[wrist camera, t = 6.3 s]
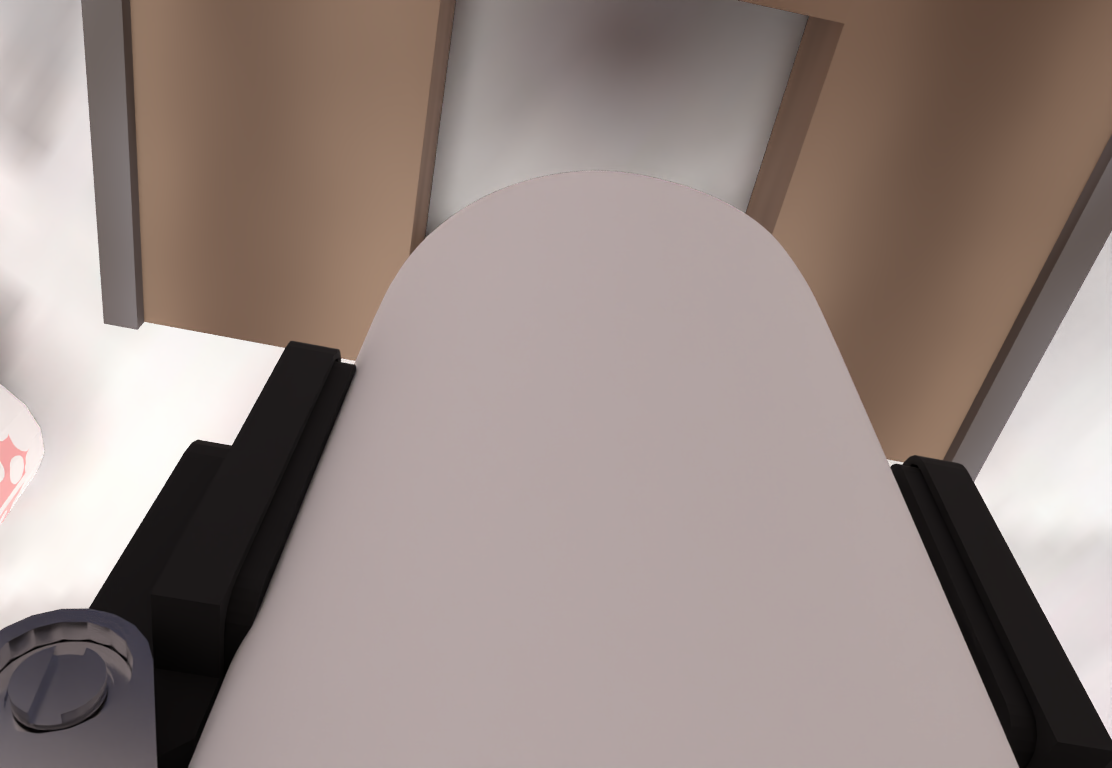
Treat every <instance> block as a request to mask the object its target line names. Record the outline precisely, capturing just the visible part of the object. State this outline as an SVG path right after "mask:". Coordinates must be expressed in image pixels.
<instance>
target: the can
mask: <svg viewBox="0 0 1112 768" xmlns="http://www.w3.org/2000/svg"><path fill="white" fill-rule="evenodd" d="M354 365H356V372H355V374H354V377H353V379H352V382H351V384H350V387H349V389H348V392H347V394H346V396H345V399H344V401H343V404H342V406H341V409H340V411H339V414H338V416H337V419H336V421H335V423H334V426H333V428H332V431H331V433H330V436H329V438H328V441H327V443H326V446H325V448H324V451H323V453H322V455H321V458H320V460H319V463H318V465H317V468H316V470H315V473H314V475H313V478H312V480H311V482H310V485H309V487H308V490H307V492H306V495H305V497H304V500H303V502H302V505H301V507H300V510H299V512H298V514H297V517H296V519H295V522H294V524H293V527H292V529H291V532H290V534H289V537H288V539H287V542H286V544H285V547H284V549H283V552H282V554H281V556H280V559H279V561H278V564H277V566H276V569H275V571H274V574H273V576H272V579H271V581H270V584H269V586H268V589H267V591H266V594H265V596H264V599H263V601H262V603H261V606H260V608H259V611H258V613H257V616H256V618H255V621H254V623H253V626H252V627H251V629H250V630H249V632H248V633H247V635H246V636H245V638H244V639H243V641H242V643H241V645H240V646H239V648H238V650H237V651H236V653H235V655H234V657H233V659H232V661H231V664H230V666H229V668H228V671H227V673H226V676H225V678H224V681H223V683H222V685H221V688H220V690H219V693H218V695H217V698H216V700H215V703H214V705H213V707H212V710H211V712H210V715H209V717H208V720H207V722H206V725H205V727H204V730H203V732H202V734H201V737H200V739H199V742H198V744H197V747H196V749H195V752H194V754H193V757H192V759H191V761H190V764H189V766H188V768H1019V766H1018V764H1017V761H1016V759H1015V757H1014V754H1013V752H1012V750H1011V747H1010V745H1009V743H1008V740H1007V738H1006V735H1005V733H1004V731H1003V728H1002V726H1001V724H1000V721H999V719H998V717H997V714H996V712H995V710H994V707H993V705H992V703H991V700H990V698H989V696H988V693H987V691H986V689H985V686H984V684H983V682H982V679H981V677H980V675H979V672H978V670H977V668H976V665H975V663H974V661H973V658H972V656H971V654H970V652H969V649H968V647H967V645H966V642H965V640H964V638H963V635H962V633H961V631H960V628H959V626H958V624H957V621H956V619H955V617H954V614H953V612H952V610H951V607H950V605H949V603H948V600H947V598H946V596H945V593H944V591H943V589H942V586H941V584H940V582H939V579H938V577H937V575H936V572H935V570H934V568H933V565H932V563H931V561H930V558H929V556H928V554H927V551H926V549H925V547H924V544H923V542H922V540H921V537H920V535H919V533H918V531H917V528H916V526H915V524H914V521H913V519H912V517H911V514H910V512H909V510H908V507H907V505H906V503H905V500H904V498H903V496H902V494H901V491H900V489H899V487H898V484H897V482H896V480H895V477H894V475H893V473H892V470H891V468H890V466H889V463H888V461H887V459H886V457H885V454H884V452H883V450H882V447H881V445H880V443H879V440H878V438H877V436H876V433H875V431H874V429H873V427H872V424H871V422H870V420H869V417H868V415H867V413H866V410H865V408H864V406H863V404H862V401H861V399H860V397H859V394H858V392H857V390H856V388H855V385H854V383H853V381H852V378H851V376H850V374H849V372H848V369H847V367H846V365H845V362H844V360H843V358H842V356H841V353H840V351H839V349H838V347H837V345H836V342H835V340H834V338H833V336H832V333H831V331H830V329H829V327H828V325H827V322H826V320H825V318H824V316H823V314H822V311H821V309H820V307H819V305H818V303H817V301H816V299H815V297H814V295H813V293H812V291H811V289H810V287H809V286H808V284H807V282H806V280H805V279H804V277H803V275H802V274H801V272H800V271H799V269H798V268H797V266H796V265H795V263H794V262H793V260H792V259H791V257H790V256H789V255H788V253H787V252H786V251H785V249H784V248H783V247H782V246H781V244H780V243H779V242H778V241H777V240H776V239H775V238H774V237H773V236H772V234H771V233H770V232H768V231H767V230H766V229H765V228H764V227H763V226H762V225H760V224H759V223H758V222H757V221H755V220H754V219H752V218H751V217H750V216H748V215H747V214H745V213H744V212H742V211H740V210H738V209H737V208H735V207H733V206H731V205H730V204H728V203H726V202H724V201H722V200H720V199H718V198H715V197H713V196H711V195H708V194H706V193H704V192H701V191H698V190H696V189H693V188H690V187H687V186H684V185H681V184H677V183H674V182H670V181H666V180H663V179H658V178H654V177H650V176H645V175H639V174H634V173H626V172H618V171H599V170H591V171H575V172H565V173H558V174H552V175H547V176H542V177H538V178H534V179H530V180H526V181H523V182H520V183H517V184H514V185H511V186H508V187H505V188H503V189H500V190H498V191H495V192H493V193H491V194H489V195H487V196H485V197H483V198H481V199H479V200H477V201H475V202H473V203H472V204H470V205H468V206H466V207H465V208H463V209H462V210H460V211H459V212H457V213H456V214H454V215H453V216H451V217H450V218H449V219H447V220H446V221H445V222H443V223H442V224H441V225H440V226H438V227H437V228H436V229H435V230H434V231H433V232H432V233H431V234H429V235H428V236H427V237H426V238H425V239H424V240H423V241H422V242H421V243H420V244H419V246H418V247H417V248H416V249H415V250H414V251H413V252H412V254H411V255H410V256H409V257H408V259H407V260H406V261H405V263H404V264H403V266H402V267H401V268H400V270H399V272H398V273H397V275H396V276H395V278H394V280H393V281H392V283H391V284H390V286H389V288H388V290H387V292H386V294H385V296H384V298H383V300H382V302H381V304H380V306H379V309H378V311H377V313H376V315H375V317H374V319H373V322H372V324H371V326H370V329H369V331H368V333H367V335H366V338H365V340H364V342H363V345H362V347H361V349H360V352H359V354H358V356H357V359H356V361H355V364H354Z"/></svg>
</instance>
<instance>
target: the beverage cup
mask: <svg viewBox="0 0 1112 768" xmlns="http://www.w3.org/2000/svg"><path fill="white" fill-rule="evenodd" d="M44 453H45V451H44V445H43V439H42V433H41V428H40V427H39V425H38V424H37V422H36V421H35V419H34V417H33V416H32V414H31V413H30V411H29V410H28V408H27V406H26V405H25V404H24V403H23V402H21V401H20V400H19V399H18V398H17V397H15V396H14V395H13V394H12V393H11V392H10V391H8V390H7V389H6V388H5V387H4V386H2V385H1V384H0V525H1V524H2V522H3V521H4V519H5V518H6V516H7V515H8V513H9V512H10V510H11V509H12V508H13V506H14V505H15V503H16V502H17V500H18V499H19V497H20V496H21V495H22V493H23V492H24V490H25V489H26V487H27V486H28V484H29V483H30V481H31V480H32V479H33V477H34V476H35V474H36V473H37V471H38V468H39V466H40V463H41V461H42V458H43V456H44Z"/></svg>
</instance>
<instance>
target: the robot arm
mask: <svg viewBox="0 0 1112 768" xmlns="http://www.w3.org/2000/svg"><path fill="white" fill-rule="evenodd" d="M355 372H356V365H353V364H347V363H342V362H341V352H340V350H339V349H335V348H330V347H324V346H319V345H313V344H308V343H303V342H297V341H290V342H289V343H288V345H287V346H286V348H285V350H284V352H283V353H282V355H281V357H280V359H279V361H278V362H277V364H276V366H275V368H274V370H273V372H272V373H271V375H270V377H269V379H268V381H267V383H266V384H265V386H264V388H263V390H262V392H261V393H260V395H259V397H258V399H257V401H256V403H255V404H254V406H253V408H252V410H251V412H250V414H249V415H248V417H247V419H246V421H245V423H244V424H243V426H242V428H241V430H240V432H239V434H238V435H237V437H236V439H235V441H234V443H233V445H232V446H231V445H225V444H219V443H213V442H208V441H202V440H196V441H194V442H192V443H191V445H190V446H189V447H188V448H187V450H186V451H185V452H184V454H183V456H182V457H181V459H180V461H179V462H178V464H177V466H176V467H175V469H174V470H173V472H172V474H171V475H170V477H169V479H168V480H167V482H166V483H165V485H164V487H163V488H162V490H161V492H160V493H159V495H158V496H157V498H156V500H155V501H154V503H153V505H152V506H151V508H150V510H149V511H148V513H147V514H146V516H145V518H144V519H143V521H142V523H141V524H140V526H139V527H138V529H137V531H136V532H135V534H134V536H133V537H132V539H131V541H130V542H129V544H128V545H127V547H126V549H125V550H124V552H123V554H122V555H121V557H120V558H119V560H118V562H117V563H116V565H115V567H114V568H113V570H112V571H111V573H110V575H109V576H108V578H107V580H106V581H105V583H104V585H103V586H102V588H101V589H100V591H99V593H98V594H97V596H96V598H95V599H94V601H93V602H92V604H91V606H90V607H89V609H59V610H54V611H50V612H45V613H41V614H36V615H32V616H30V617H27V618H25V619H23V620H21V621H18V622H16V623H14V624H12V625H9V626H7V627H5V628H3V629H2V630H1V631H0V768H188V766H189V764H190V761H191V759H192V757H193V754H194V752H195V749H196V747H197V744H198V742H199V739H200V737H201V734H202V732H203V730H204V727H205V725H206V722H207V720H208V717H209V715H210V712H211V710H212V707H213V705H214V703H215V700H216V698H217V695H218V693H219V690H220V688H221V685H222V683H223V681H224V678H225V676H226V673H227V671H228V668H229V666H230V664H231V661H232V659H233V657H234V655H235V653H236V651H237V650H238V648H239V646H240V645H241V643H242V641H243V639H244V638H245V636H246V635H247V633H248V632H249V630H250V629H251V627H252V626H253V623H254V621H255V618H256V616H257V613H258V611H259V608H260V606H261V603H262V601H263V599H264V596H265V594H266V591H267V589H268V586H269V584H270V581H271V579H272V576H273V574H274V571H275V569H276V566H277V564H278V561H279V559H280V556H281V554H282V552H283V549H284V547H285V544H286V542H287V539H288V537H289V534H290V532H291V529H292V527H293V524H294V522H295V519H296V517H297V514H298V512H299V510H300V507H301V505H302V502H303V500H304V497H305V495H306V492H307V490H308V487H309V485H310V482H311V480H312V478H313V475H314V473H315V470H316V468H317V465H318V463H319V460H320V458H321V455H322V453H323V451H324V448H325V446H326V443H327V441H328V438H329V436H330V433H331V431H332V428H333V426H334V423H335V421H336V419H337V416H338V414H339V411H340V409H341V406H342V404H343V401H344V399H345V396H346V394H347V392H348V389H349V387H350V384H351V382H352V379H353V377H354V374H355ZM890 468H891V470H892V473H893V475H894V477H895V480H896V482H897V484H898V487H899V489H900V491H901V494H902V496H903V498H904V500H905V503H906V505H907V507H908V510H909V512H910V514H911V517H912V519H913V521H914V524H915V526H916V528H917V531H918V533H919V535H920V537H921V540H922V542H923V544H924V547H925V549H926V551H927V554H928V556H929V558H930V561H931V563H932V565H933V568H934V570H935V572H936V575H937V577H938V579H939V582H940V584H941V586H942V589H943V591H944V593H945V596H946V598H947V600H948V603H949V605H950V607H951V610H952V612H953V614H954V617H955V619H956V621H957V624H958V626H959V628H960V631H961V633H962V635H963V638H964V640H965V642H966V645H967V647H968V649H969V652H970V654H971V656H972V658H973V661H974V663H975V665H976V668H977V670H978V672H979V675H980V677H981V679H982V682H983V684H984V686H985V689H986V691H987V693H988V696H989V698H990V700H991V703H992V705H993V707H994V710H995V712H996V714H997V717H998V719H999V721H1000V724H1001V726H1002V728H1003V731H1004V733H1005V735H1006V738H1007V740H1008V743H1009V745H1010V747H1011V750H1012V752H1013V754H1014V757H1015V759H1016V761H1017V764H1018V766H1019V768H1112V740H1111V738H1110V736H1109V734H1108V732H1107V730H1106V728H1105V726H1104V725H1103V723H1102V721H1101V719H1100V717H1099V715H1098V713H1097V712H1096V710H1095V708H1094V706H1093V704H1092V702H1091V700H1090V698H1089V697H1088V695H1087V693H1086V691H1085V689H1084V687H1083V685H1082V684H1081V682H1080V680H1079V678H1078V676H1077V674H1076V672H1075V670H1074V669H1073V667H1072V665H1071V663H1070V661H1069V659H1068V657H1067V656H1066V654H1065V652H1064V650H1063V648H1062V646H1061V644H1060V642H1059V641H1058V639H1057V637H1056V635H1055V633H1054V631H1053V629H1052V628H1051V626H1050V624H1049V622H1048V620H1047V618H1046V616H1045V614H1044V613H1043V611H1042V609H1041V607H1040V605H1039V603H1038V601H1037V600H1036V598H1035V596H1034V594H1033V592H1032V590H1031V588H1030V586H1029V585H1028V583H1027V581H1026V579H1025V577H1024V575H1023V573H1022V571H1021V570H1020V568H1019V566H1018V564H1017V562H1016V560H1015V558H1014V557H1013V555H1012V553H1011V551H1010V549H1009V547H1008V545H1007V543H1006V542H1005V540H1004V538H1003V536H1002V534H1001V532H1000V530H999V529H998V527H997V525H996V523H995V521H994V519H993V517H992V515H991V514H990V512H989V510H988V508H987V506H986V504H985V502H984V501H983V499H982V497H981V495H980V493H979V491H978V489H977V487H976V486H975V484H974V482H973V480H972V478H971V476H970V474H969V473H968V471H967V469H966V468H965V467H964V466H963V465H962V464H959V463H956V462H950V461H945V460H939V459H934V458H929V457H923V456H918V455H913V456H910V457H909V458H908V459H907V460H906V461H905V462H904V463H903V465H900V464H894V465H892V466H891V467H890Z"/></svg>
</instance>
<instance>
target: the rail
mask: <svg viewBox="0 0 1112 768" xmlns="http://www.w3.org/2000/svg"><path fill="white" fill-rule="evenodd" d="M739 1H743V2H748V3H752V4H757V5H762V6H766V7H771V8H775V9H780V10H785V11H789V12H794V13H798V14H803V15H808V16H809V18H808V21H807V24H806V27H805V31H804V34H803V37H802V40H801V43H800V46H799V49H798V52H797V55H796V58H795V62H794V65H793V68H792V71H791V74H790V77H789V80H788V83H787V86H786V90H785V93H784V96H783V99H782V102H781V105H780V108H779V111H778V114H777V118H776V121H775V124H774V127H773V130H772V133H771V136H770V139H769V142H768V145H767V149H766V152H765V155H764V158H763V161H762V164H761V167H760V170H759V173H758V177H757V180H756V183H755V186H754V189H753V192H752V195H751V198H750V201H749V205H748V208H747V211H746V214H747V215H748V216H750V217H751V218H752V219H754V220H755V221H757V222H758V223H759V224H760V225H762V226H763V227H764V228H765V229H766V230H767V231H768V232H770V233H771V234H772V236H773V237H774V238H775V239H776V240H777V241H778V242H779V243H780V244H781V246H782V247H783V248H784V249H785V251H786V252H787V253H788V255H789V256H790V257H791V259H792V260H793V262H794V263H795V265H796V266H797V268H798V269H799V271H800V272H801V274H802V275H803V277H804V279H805V280H806V282H807V284H808V286H809V287H810V289H811V291H812V293H813V295H814V297H815V299H816V301H817V303H818V305H819V307H820V309H821V311H822V314H823V316H824V318H825V320H826V322H827V325H828V327H829V329H830V331H831V333H832V336H833V338H834V340H835V342H836V345H837V347H838V349H839V351H840V353H841V356H842V358H843V360H844V362H845V365H846V367H847V369H848V372H849V374H850V376H851V378H852V381H853V383H854V385H855V388H856V390H857V392H858V394H859V397H860V399H861V401H862V404H863V406H864V408H865V410H866V413H867V415H868V417H869V420H870V422H871V424H872V427H873V429H874V431H875V433H876V436H877V438H878V440H879V443H880V445H881V447H882V450H883V452H884V454H885V457H886V459H889V460H894V461H900V462H905V461H906V460H907V459H908V458H909V457H910V456H913V455H918V456H923V457H929V458H934V459H939V460H945V461H950V462H956V463H959V464H962V465H963V466H964V467H965V468H966V469H967V471H968V473H969V474H970V476H971V478H972V480H973V482H974V481H975V479H976V477H977V475H978V473H979V472H980V470H981V468H982V466H983V464H984V462H985V461H986V459H987V457H988V455H989V453H990V452H991V450H992V448H993V446H994V444H995V442H996V441H997V439H998V437H999V435H1000V433H1001V431H1002V430H1003V428H1004V426H1005V424H1006V422H1007V421H1008V419H1009V417H1010V415H1011V413H1012V411H1013V410H1014V408H1015V406H1016V404H1017V402H1018V400H1019V399H1020V397H1021V395H1022V393H1023V391H1024V390H1025V388H1026V386H1027V384H1028V382H1029V380H1030V379H1031V377H1032V375H1033V373H1034V371H1035V369H1036V368H1037V366H1038V364H1039V362H1040V360H1041V359H1042V357H1043V355H1044V353H1045V351H1046V349H1047V348H1048V346H1049V344H1050V342H1051V340H1052V338H1053V337H1054V335H1055V333H1056V331H1057V329H1058V328H1059V326H1060V324H1061V322H1062V320H1063V318H1064V317H1065V315H1066V313H1067V311H1068V309H1069V307H1070V306H1071V304H1072V302H1073V300H1074V298H1075V297H1076V295H1077V293H1078V291H1079V289H1080V287H1081V286H1082V284H1083V282H1084V280H1085V278H1086V276H1087V275H1088V273H1089V271H1090V269H1091V267H1092V266H1093V264H1094V262H1095V260H1096V258H1097V256H1098V255H1099V253H1100V251H1101V249H1102V247H1103V245H1104V244H1105V242H1106V240H1107V238H1108V236H1109V235H1110V233H1111V231H1112V0H739ZM81 3H82V17H83V31H84V46H85V60H86V74H87V88H88V103H89V117H90V131H91V145H92V160H93V174H94V188H95V202H96V217H97V231H98V245H99V260H100V274H101V288H102V302H103V317H104V324H110V325H115V326H121V327H126V328H132V329H137V330H138V329H139V327H140V326H141V325H142V324H143V323H144V322H149V323H154V324H160V325H165V326H170V327H176V328H181V329H187V330H192V331H197V332H203V333H208V334H214V335H219V336H224V337H230V338H235V339H241V340H246V341H251V342H257V343H262V344H268V345H273V346H278V347H284V348H286V346H287V345H288V343H289V342H290V341H297V342H303V343H308V344H313V345H319V346H324V347H330V348H335V349H339V350H340V352H341V358H343V359H349V360H354V361H356V359H357V356H358V354H359V352H360V349H361V347H362V345H363V342H364V340H365V338H366V335H367V333H368V331H369V329H370V326H371V324H372V322H373V319H374V317H375V315H376V313H377V311H378V309H379V306H380V304H381V302H382V300H383V298H384V296H385V294H386V292H387V290H388V288H389V286H390V284H391V283H392V281H393V280H394V278H395V276H396V275H397V273H398V272H399V270H400V268H401V267H402V266H403V264H404V263H405V261H406V260H407V259H408V257H409V256H410V255H411V254H412V252H413V251H414V250H415V249H416V248H417V247H418V246H419V244H420V243H421V242H422V241H423V240H424V239H425V234H426V226H427V218H428V211H429V203H430V195H431V188H432V180H433V172H434V165H435V157H436V149H437V142H438V134H439V126H440V118H441V111H442V103H443V95H444V88H445V80H446V72H447V65H448V57H449V49H450V42H451V34H452V26H453V19H454V11H455V3H456V0H81Z"/></svg>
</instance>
